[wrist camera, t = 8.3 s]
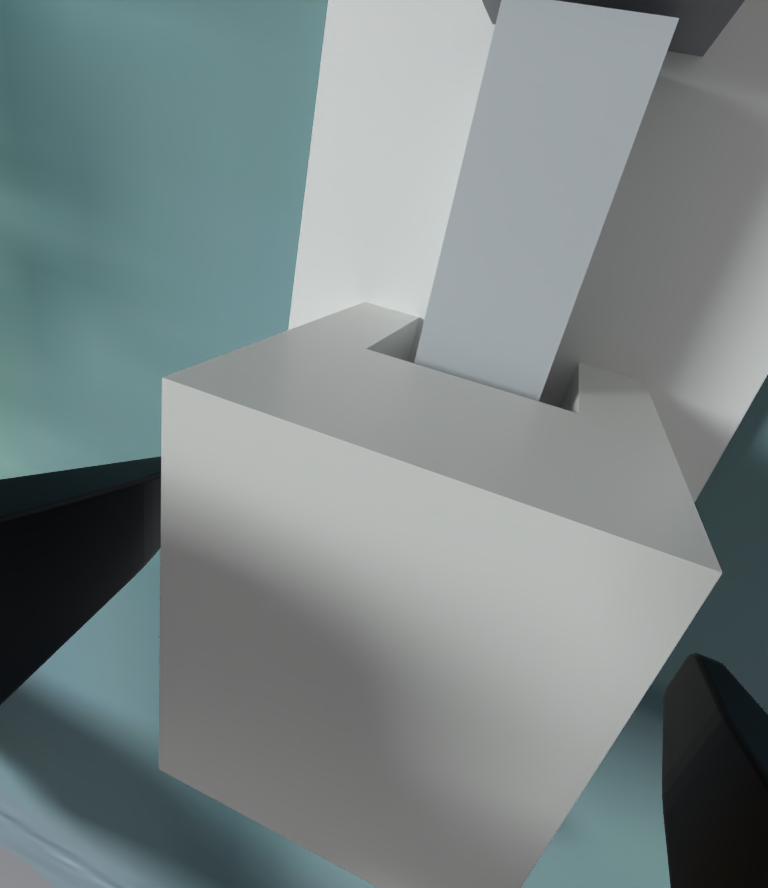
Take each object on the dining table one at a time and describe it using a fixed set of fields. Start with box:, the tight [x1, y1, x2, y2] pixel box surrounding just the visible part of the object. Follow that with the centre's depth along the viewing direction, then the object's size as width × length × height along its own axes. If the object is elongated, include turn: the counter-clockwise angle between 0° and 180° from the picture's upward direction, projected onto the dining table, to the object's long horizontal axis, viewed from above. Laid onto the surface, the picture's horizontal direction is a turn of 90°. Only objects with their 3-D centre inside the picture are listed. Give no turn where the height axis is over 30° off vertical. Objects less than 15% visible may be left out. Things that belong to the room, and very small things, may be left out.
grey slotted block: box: [159, 302, 722, 888], centre depth 9 cm, size 7×6×6 cm
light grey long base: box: [288, 0, 768, 503], centre depth 11 cm, size 19×9×4 cm, turn 168°
